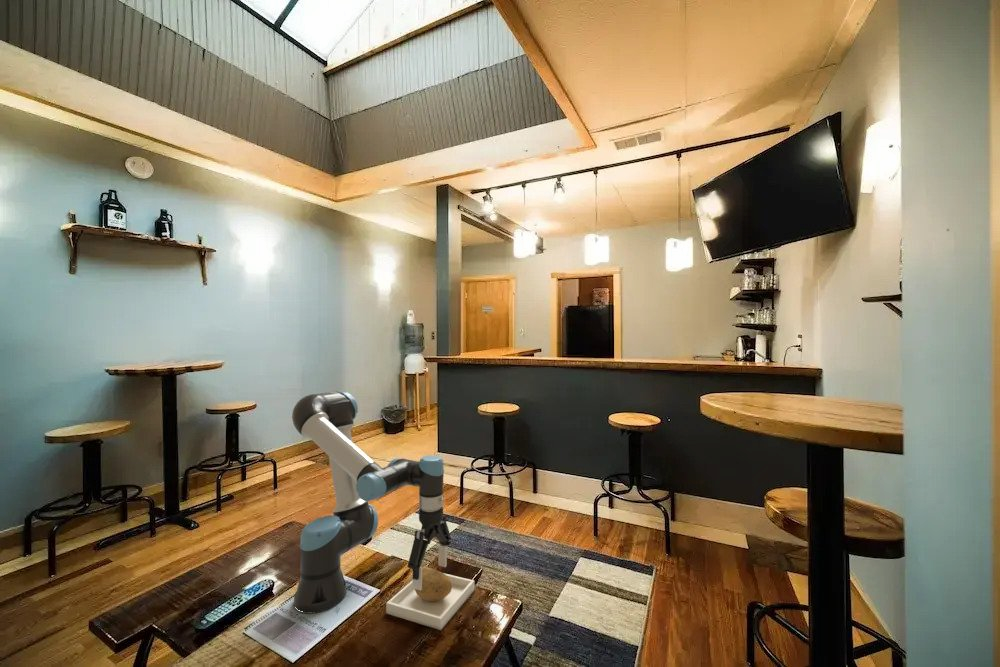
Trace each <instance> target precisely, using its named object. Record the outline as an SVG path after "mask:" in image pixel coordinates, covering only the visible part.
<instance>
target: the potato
mask: <svg viewBox="0 0 1000 667" xmlns="http://www.w3.org/2000/svg"><path fill="white" fill-rule="evenodd" d="M444 573H445V572H442V571H440V570H437V569H434V568H431V567H427V566H422V590H421V591H420V590H417V589H415V591H416V593H417V595H418V596H419V597H421V598H422V599H424V600H427V601H432V602H433V601H439V600H442V599H444V598H445V597H446V596H447V595H448V594H449V593H450V592H451V589H452V584H451V580H450V578H449V577H448V576H447V575H445V574H446V573H445V574H444ZM412 580H413V576H412Z"/></svg>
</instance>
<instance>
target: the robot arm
mask: <svg viewBox="0 0 1000 667" xmlns="http://www.w3.org/2000/svg"><path fill="white" fill-rule="evenodd" d="M358 412H359V406H358V402H357V400H356V399H355V397H354V396H353V395H352V394H350V392H347V391H330V392H324V393H313V394H308V395H306V396H304V397H302V398H300V399H299V400H298V401H297V402H296V404H295V405H294V407H293V410H292V415H291V418H292V423H293V426H294V428H295V429H296V431H297V433H299V434H300V435H301V436H302V437H303V438H304V439H310V440H311V441H312V442H314V443H315V444H316V446H318V447H319V449H321V450H322V451H323V452H324V453H325V454H326V455H327V456H328V460H329V466H330V473H331V478H332V483H333V485H332V486H333V489H334V495H335V501H336V505H335V507H334V509H333V510H332V513H333V514H330V515H325V516H322V517H321V516H319V517H317V518H315V519H313V520H310V521H309V522H308V523H307V524H305V526H304V527H303V528H302V530H301V533H300V539H299V548H300V562H299V563H300V568H299V570H300V572H299V573H300V578H299V582H298V585H297V588H296V591H295V593H294V596H293V607H294V606H295V607H296V608H297V609H298V610H300V611H303V612H306V613H305V614H308V613H307V612H312V613H311V614H314V613H313V612H315V613H319V612H320V613H321V612H323V611H326V610H329V609H331V608H333V607H335V606H336V605H338V604H339V603H341V602H342V600H344V599H345V597H346V595H347V582H346V581H345V578H344V575H343V571H342V569H341V557H342V555H344V554H345V553H347V552H349V551H351V550H353V549H355V548H356V547H358V546H359V545H362V544H364V543H366V542H367V540H369V539H370V538H373V536H374V535H375V533H376V531H377V530H378V526H379V514H378V512H377V510H376V508H375V507H374V506H373V505H372V504H370V503H369V502H371V501H374V500H376V499H377V500H378V499H380V498H382V497H384V496H386V495H387V494H389V493H391V492H394V491H396V490H398V489H400V488H403V487H405V486H413V487H418V488H419V489H418V493H419V494H418V507H419V509H418V521H419V523H420V524H421V529H420V530H415V531H414V538H413V543H412V548H411V550H410V555H409V559H408V564H407V568H408V569H412V577H413V579H412V580H413V589H417V590H420V591H421V590H422V567H423V566H421V565H422V564H423V560H424V557H425V554H426V552H427V548H428V546H429V545H430V544H431V542H432V540H433V539H434V538H435V539H436V540H437V541H438V542H439V544H438V546H437V547H438V550H437V552H438V554H437V557H438V559H437V560H438V562H437V564H438V566H439V567H441V568H442V567H443V568H446V567H447V562H448V560H447V558H448V555H447V554H448V548H447V547H448V546H450V545H451V541H452V540H451V539H452V536H451V534H450V530H449V526H448V524H447V516H446V515H444V507H443V506H444V473H445V469H444V459H443V458H442V457H441V456H439V455H425V456H423V457H421V458H420V459H419V461H418V460H412V459H407V458H393V459H392V460H391V461H390V462H389V463H388V464H387V466H383V467H382V466H380V465H379V464H378V463H377V462H376V461H375V460H373V459H372V457H371V456H369V455H368V454H367V453H366V452H364V451H363V450H362V449H361V448H360V447H359V446H358V445H356V444H355V442H354V441H353V438H352V432H351V430H352V428H353V427H354V424H355V423H354V420H355V419H356V417H357V416H358Z"/></svg>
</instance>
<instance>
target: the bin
mask: <svg viewBox="0 0 1000 667" xmlns="http://www.w3.org/2000/svg"><path fill="white" fill-rule="evenodd" d="M443 573H444V574H445V575H447V576H448V577H449V578H450V580H451V584H452V589H451V592H450V593H449V594H448V595H447V596H446V597H445V598H444V599H442V600H439V601H433V602H432V601H427V600H424V599H422V598H421V597H419V596H418V595H417V593H416V591H415V589H413V579H412V580H410V582H408V583H407V584H406V585H405V586H404V587H402V589H400V590H399V591H398V592H397V593H396V594H395V595H394V596H392V597H391V598H390V599H389V600H388V601H386V605H385V606H386V607H385V608H386V609H385V611H386V612H385V613H386V614H387V615H389V616H390V615H391V616H394V617H396V618H400V619H404V620H407V621H409V622H414V623H416V624H419V625H423V626H426V627H429V628H433V629H436V630H438V631H442V630H443V628H444V627H445V626H446V625H447V624H448V622H449V621H450V620H452V618H453V617H454V615H455V614H456V613H457V612H458V611H459V610H460V608H461V607H462V606H463V605H464V604H465V602H466V601H467V600H468V599H469V598H470V596H471V595H472V594H473V592H475V588H476V587H475V580H473V579H469V578H465V577H461V576H456V575H454V574H448V573H445V572H443Z"/></svg>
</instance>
